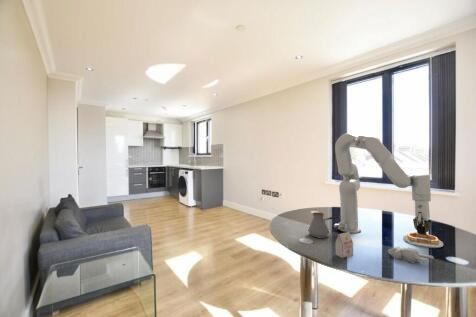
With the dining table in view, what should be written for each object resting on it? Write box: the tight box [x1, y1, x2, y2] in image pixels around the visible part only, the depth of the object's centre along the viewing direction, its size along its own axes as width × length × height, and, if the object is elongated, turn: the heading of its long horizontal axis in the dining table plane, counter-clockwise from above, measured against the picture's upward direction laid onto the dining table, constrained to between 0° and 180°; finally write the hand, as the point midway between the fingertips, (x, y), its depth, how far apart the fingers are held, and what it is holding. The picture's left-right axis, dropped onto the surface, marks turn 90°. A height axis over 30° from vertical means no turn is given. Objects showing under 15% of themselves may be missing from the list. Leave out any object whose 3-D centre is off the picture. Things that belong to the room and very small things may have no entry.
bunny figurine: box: [387, 246, 435, 264], centre depth 96 cm, size 10×5×15 cm
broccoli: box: [412, 217, 432, 235], centre depth 116 cm, size 8×7×8 cm
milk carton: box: [335, 232, 354, 259], centre depth 102 cm, size 4×7×10 cm, turn 113°
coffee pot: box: [307, 211, 343, 239], centre depth 123 cm, size 21×12×15 cm, turn 27°
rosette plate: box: [402, 231, 444, 249], centre depth 116 cm, size 16×16×3 cm
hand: (422, 231), depth 116 cm, fingers closed on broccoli, 6 cm apart
